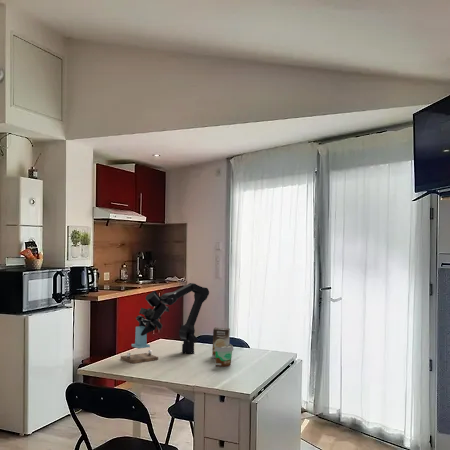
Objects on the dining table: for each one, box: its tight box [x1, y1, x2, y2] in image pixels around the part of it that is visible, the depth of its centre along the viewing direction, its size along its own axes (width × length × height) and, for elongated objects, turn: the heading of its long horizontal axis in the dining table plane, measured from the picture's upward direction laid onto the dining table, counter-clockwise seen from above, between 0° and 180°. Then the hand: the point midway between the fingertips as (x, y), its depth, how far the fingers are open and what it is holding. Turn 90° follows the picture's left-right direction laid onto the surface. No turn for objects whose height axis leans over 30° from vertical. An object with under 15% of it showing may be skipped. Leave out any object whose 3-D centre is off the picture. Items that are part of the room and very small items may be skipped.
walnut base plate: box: [120, 352, 159, 364], centre depth 262 cm, size 16×12×2 cm
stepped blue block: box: [131, 325, 151, 349], centre depth 262 cm, size 7×7×10 cm
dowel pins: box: [126, 350, 152, 358], centre depth 262 cm, size 15×2×2 cm, turn 130°
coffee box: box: [211, 327, 231, 359], centre depth 274 cm, size 9×6×16 cm
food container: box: [215, 343, 235, 368], centre depth 255 cm, size 12×6×10 cm, turn 143°
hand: (138, 334), depth 261 cm, fingers closed on stepped blue block, 4 cm apart
